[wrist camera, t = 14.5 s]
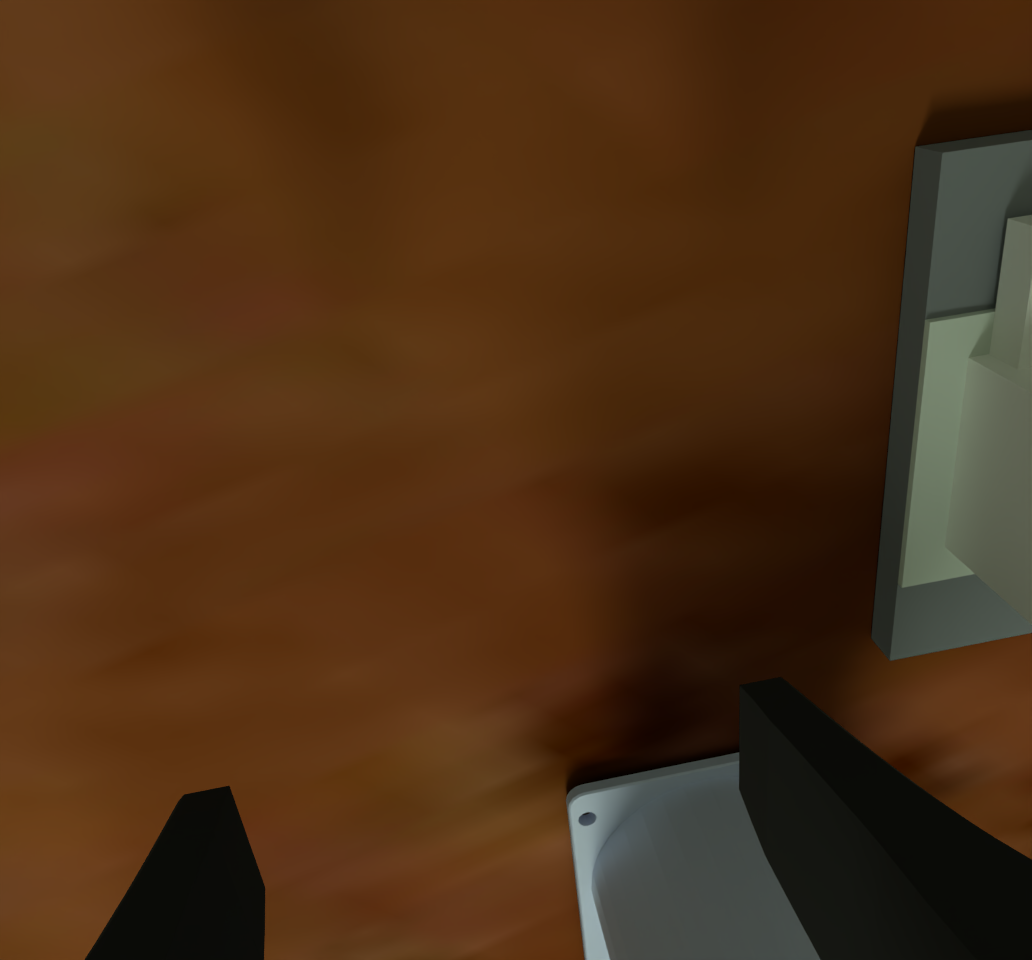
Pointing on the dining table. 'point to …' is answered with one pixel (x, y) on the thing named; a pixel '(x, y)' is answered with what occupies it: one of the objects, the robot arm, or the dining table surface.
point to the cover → (999, 440)
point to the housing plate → (943, 391)
